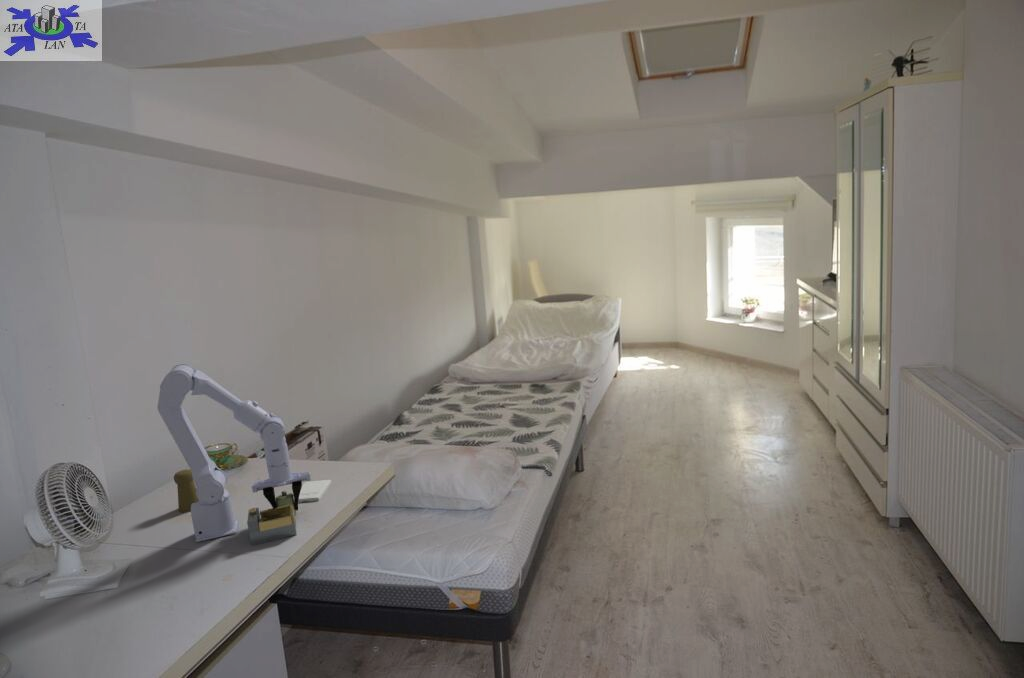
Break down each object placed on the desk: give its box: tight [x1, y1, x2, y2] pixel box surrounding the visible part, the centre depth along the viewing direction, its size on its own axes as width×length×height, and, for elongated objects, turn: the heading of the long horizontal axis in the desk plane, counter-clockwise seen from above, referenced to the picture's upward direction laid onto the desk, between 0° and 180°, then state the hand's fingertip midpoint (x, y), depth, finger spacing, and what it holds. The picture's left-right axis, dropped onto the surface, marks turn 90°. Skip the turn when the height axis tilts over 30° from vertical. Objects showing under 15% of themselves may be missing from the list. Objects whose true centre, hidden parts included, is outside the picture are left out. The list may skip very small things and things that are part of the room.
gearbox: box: [246, 504, 297, 546], centre depth 163 cm, size 10×8×7 cm
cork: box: [173, 468, 199, 513], centre depth 185 cm, size 6×6×11 cm
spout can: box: [275, 490, 297, 517], centre depth 173 cm, size 4×4×6 cm
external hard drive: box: [293, 479, 333, 503], centre depth 188 cm, size 2×8×12 cm
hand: (286, 511), depth 173 cm, fingers closed on spout can, 4 cm apart
